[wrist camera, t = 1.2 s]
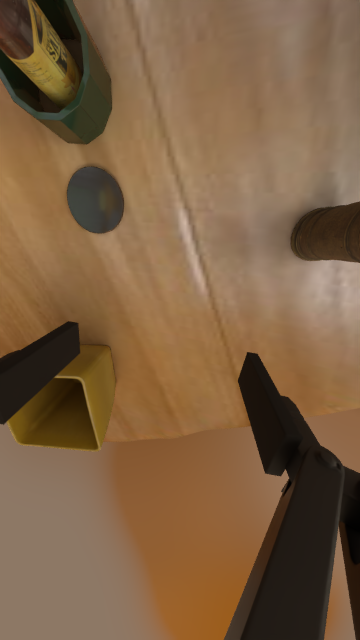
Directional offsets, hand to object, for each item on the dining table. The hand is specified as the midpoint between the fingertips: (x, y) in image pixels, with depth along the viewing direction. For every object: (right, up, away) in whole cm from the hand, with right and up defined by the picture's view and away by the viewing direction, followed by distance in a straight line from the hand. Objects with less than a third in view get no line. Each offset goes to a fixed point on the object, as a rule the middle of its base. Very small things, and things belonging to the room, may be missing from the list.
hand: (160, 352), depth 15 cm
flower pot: (-23, -10, +37) cm, 45 cm away
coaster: (-15, +25, +22) cm, 37 cm away
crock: (-16, +40, +16) cm, 46 cm away
